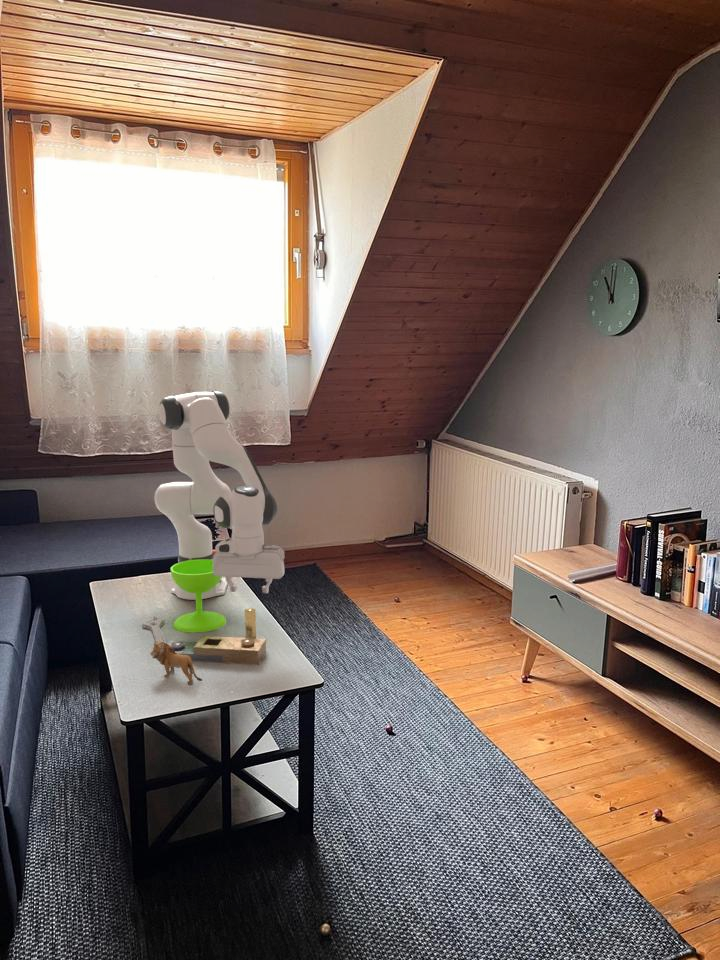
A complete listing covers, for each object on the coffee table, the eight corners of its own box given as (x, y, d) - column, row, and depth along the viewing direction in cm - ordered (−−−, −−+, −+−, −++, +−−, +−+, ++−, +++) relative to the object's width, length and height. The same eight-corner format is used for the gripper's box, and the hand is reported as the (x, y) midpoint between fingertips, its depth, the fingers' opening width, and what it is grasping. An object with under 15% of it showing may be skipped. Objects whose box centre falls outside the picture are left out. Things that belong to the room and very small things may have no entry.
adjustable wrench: (168, 652, 211) (168, 646, 210) (145, 655, 209) (144, 649, 208) (163, 620, 234) (162, 615, 234) (141, 622, 232) (141, 617, 232)
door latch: (170, 647, 213) (169, 630, 212) (266, 652, 209) (265, 635, 208) (159, 658, 205) (158, 641, 204) (258, 664, 201) (258, 647, 200)
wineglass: (177, 636, 221) (174, 577, 218) (169, 617, 235) (166, 562, 232) (231, 628, 227) (229, 571, 223) (220, 610, 241) (218, 557, 238)
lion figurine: (148, 677, 194) (146, 644, 192) (161, 669, 199) (159, 637, 197) (196, 686, 189) (195, 653, 187) (208, 678, 194) (207, 645, 192)
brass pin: (247, 640, 217) (246, 607, 216) (257, 641, 217) (256, 608, 215) (244, 644, 215) (243, 611, 213) (254, 645, 214) (253, 612, 212)
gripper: (286, 543, 212) (287, 590, 214) (217, 540, 215) (218, 587, 217) (281, 548, 206) (282, 597, 208) (209, 546, 209) (211, 593, 211)
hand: (249, 591), depth 213 cm, fingers open, 8 cm apart
